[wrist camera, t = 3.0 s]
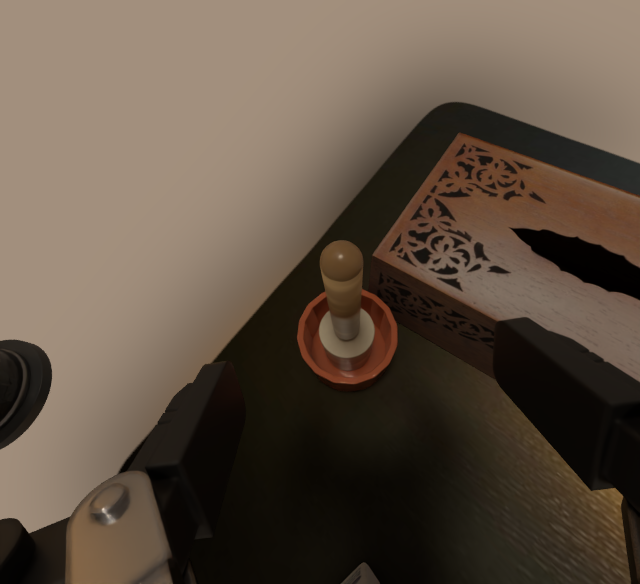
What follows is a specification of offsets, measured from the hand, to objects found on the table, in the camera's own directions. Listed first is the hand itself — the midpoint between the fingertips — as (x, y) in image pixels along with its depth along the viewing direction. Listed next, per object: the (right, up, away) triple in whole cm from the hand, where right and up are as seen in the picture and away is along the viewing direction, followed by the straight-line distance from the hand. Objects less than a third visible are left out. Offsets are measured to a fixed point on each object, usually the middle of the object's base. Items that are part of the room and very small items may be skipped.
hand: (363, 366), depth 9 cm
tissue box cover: (+18, 0, +21) cm, 28 cm away
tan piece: (+1, -3, +20) cm, 21 cm away
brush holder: (+1, -3, +21) cm, 21 cm away
